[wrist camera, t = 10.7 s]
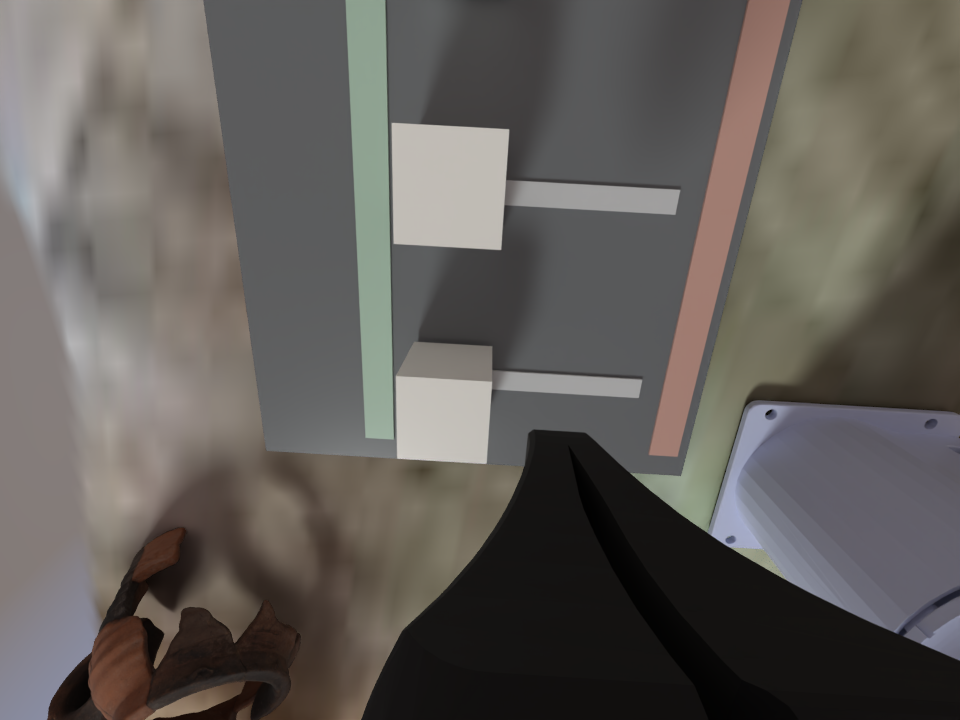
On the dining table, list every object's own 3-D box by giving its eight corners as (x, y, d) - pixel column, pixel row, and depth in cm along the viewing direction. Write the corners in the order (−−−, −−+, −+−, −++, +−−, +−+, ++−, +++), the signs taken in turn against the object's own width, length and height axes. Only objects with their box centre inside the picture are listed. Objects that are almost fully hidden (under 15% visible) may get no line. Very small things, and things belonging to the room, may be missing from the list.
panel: (812, -187, 13) (869, -255, 11) (664, 450, 21) (681, 477, 19) (210, -217, 13) (160, -289, 11) (286, 427, 21) (264, 451, 19)
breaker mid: (505, 143, 14) (509, 129, 11) (499, 238, 15) (501, 249, 12) (414, 138, 14) (391, 122, 11) (414, 233, 15) (393, 243, 12)
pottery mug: (215, 484, 23) (210, 648, 17) (324, 544, 30) (348, 677, 24) (10, 614, 22) (-69, 830, 17) (168, 645, 29) (152, 807, 23)
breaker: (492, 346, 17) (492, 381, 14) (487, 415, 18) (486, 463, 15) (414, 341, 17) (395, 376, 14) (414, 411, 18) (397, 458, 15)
